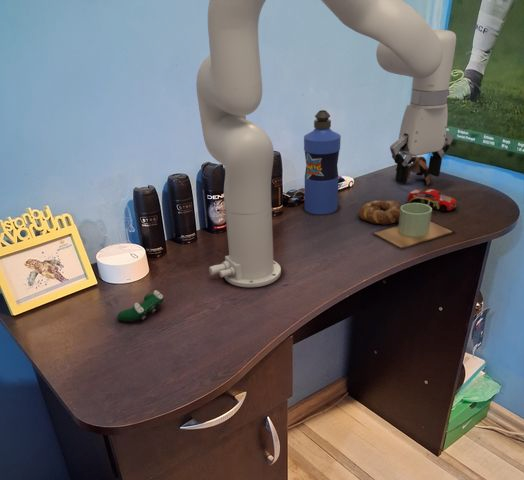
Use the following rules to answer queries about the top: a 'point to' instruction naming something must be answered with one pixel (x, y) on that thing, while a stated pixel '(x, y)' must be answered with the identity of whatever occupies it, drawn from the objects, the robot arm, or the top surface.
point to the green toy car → (142, 307)
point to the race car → (432, 199)
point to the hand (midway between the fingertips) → (417, 178)
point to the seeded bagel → (380, 212)
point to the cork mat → (402, 241)
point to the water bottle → (321, 166)
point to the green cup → (414, 220)
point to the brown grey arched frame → (419, 168)
